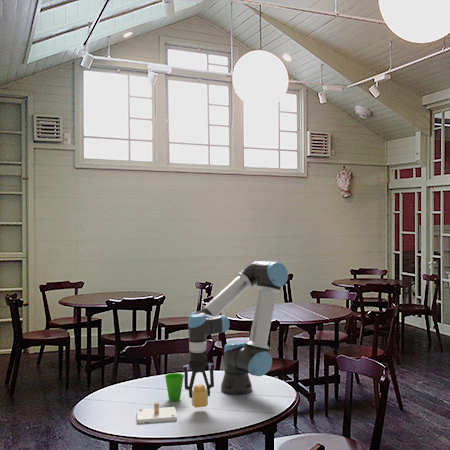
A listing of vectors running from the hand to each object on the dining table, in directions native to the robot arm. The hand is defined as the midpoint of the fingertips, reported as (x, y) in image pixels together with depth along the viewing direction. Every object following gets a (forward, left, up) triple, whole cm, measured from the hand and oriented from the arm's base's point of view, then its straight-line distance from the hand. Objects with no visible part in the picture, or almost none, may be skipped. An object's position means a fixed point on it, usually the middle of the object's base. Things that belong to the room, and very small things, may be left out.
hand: (199, 404), depth 211 cm
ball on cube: (0, 0, 0) cm, 0 cm away
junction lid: (+19, +2, -3) cm, 19 cm away
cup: (+10, -18, -3) cm, 20 cm away
